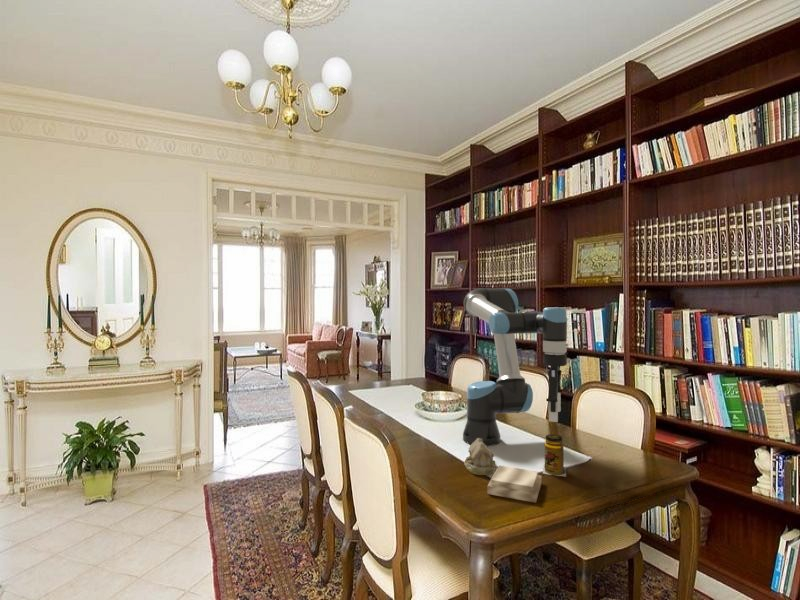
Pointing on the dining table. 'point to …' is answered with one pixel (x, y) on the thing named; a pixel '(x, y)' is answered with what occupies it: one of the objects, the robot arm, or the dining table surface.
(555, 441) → the condiment
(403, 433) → the dining table surface
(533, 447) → the dining table surface
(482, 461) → the ceramic model
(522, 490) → the plinth
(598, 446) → the dining table surface
